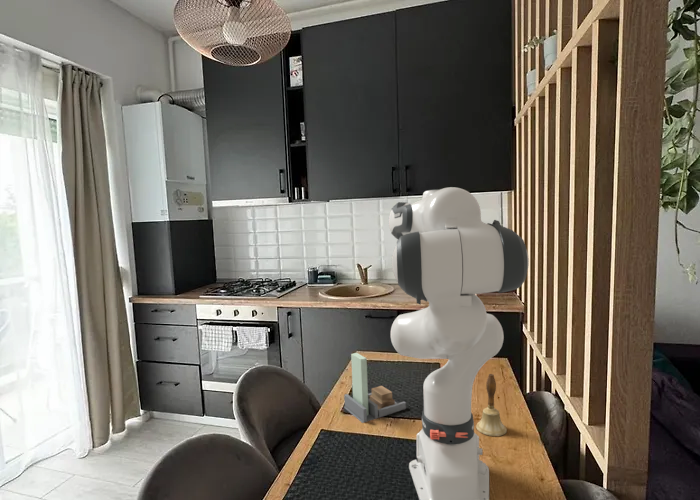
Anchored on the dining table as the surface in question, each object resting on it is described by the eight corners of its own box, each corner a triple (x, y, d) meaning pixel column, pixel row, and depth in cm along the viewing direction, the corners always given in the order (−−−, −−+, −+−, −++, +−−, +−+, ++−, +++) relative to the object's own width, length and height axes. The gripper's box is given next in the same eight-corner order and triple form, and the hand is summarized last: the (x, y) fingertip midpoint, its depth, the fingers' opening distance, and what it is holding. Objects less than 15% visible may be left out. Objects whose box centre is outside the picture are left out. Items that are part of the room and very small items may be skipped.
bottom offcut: (382, 399, 134) (382, 392, 134) (394, 407, 128) (394, 399, 128) (369, 403, 132) (369, 395, 132) (381, 411, 126) (381, 404, 126)
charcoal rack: (384, 397, 138) (384, 383, 137) (406, 411, 127) (405, 396, 127) (343, 409, 130) (342, 395, 130) (362, 426, 120) (361, 409, 119)
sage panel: (358, 407, 129) (356, 352, 128) (368, 415, 124) (366, 358, 123) (353, 409, 128) (351, 354, 127) (363, 416, 123) (360, 359, 122)
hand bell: (479, 419, 121) (479, 367, 120) (509, 425, 117) (508, 372, 115) (472, 432, 114) (472, 377, 113) (503, 439, 110) (503, 382, 108)
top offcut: (381, 392, 133) (381, 385, 133) (392, 399, 128) (392, 392, 128) (371, 395, 131) (371, 388, 131) (381, 403, 126) (381, 395, 126)
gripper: (398, 247, 114) (397, 294, 117) (473, 248, 111) (471, 297, 113) (399, 244, 121) (399, 289, 123) (470, 245, 117) (469, 291, 119)
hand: (434, 293), depth 118 cm, fingers open, 8 cm apart
